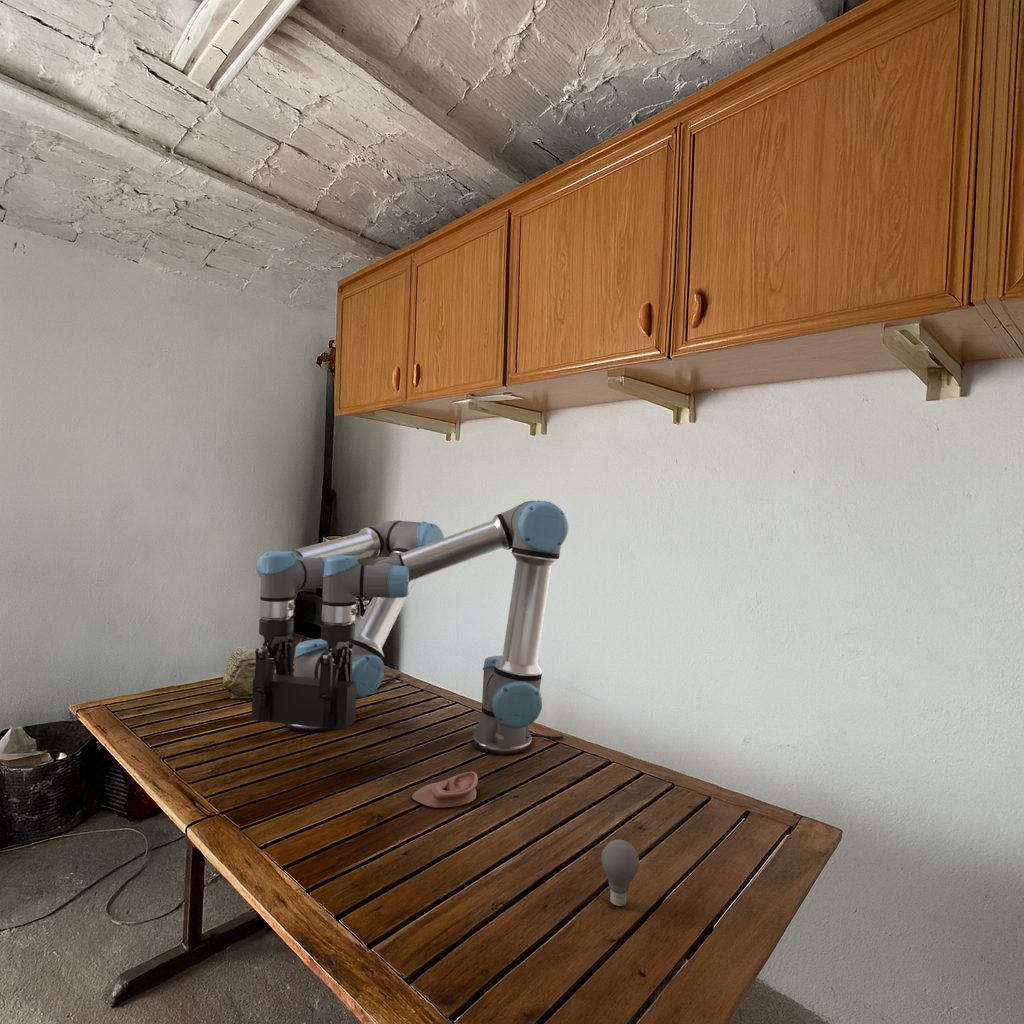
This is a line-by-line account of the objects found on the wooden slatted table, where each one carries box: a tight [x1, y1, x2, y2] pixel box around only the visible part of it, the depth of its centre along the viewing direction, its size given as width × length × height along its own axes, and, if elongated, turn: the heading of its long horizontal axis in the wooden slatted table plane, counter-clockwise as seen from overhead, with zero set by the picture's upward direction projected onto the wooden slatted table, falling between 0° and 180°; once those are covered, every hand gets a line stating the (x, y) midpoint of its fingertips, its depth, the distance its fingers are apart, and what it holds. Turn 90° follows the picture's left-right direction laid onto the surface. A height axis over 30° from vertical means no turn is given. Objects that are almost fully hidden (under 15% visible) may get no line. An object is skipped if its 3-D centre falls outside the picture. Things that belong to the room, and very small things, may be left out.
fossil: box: [222, 646, 276, 699], centre depth 198 cm, size 9×18×15 cm, turn 132°
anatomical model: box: [411, 771, 479, 809], centre depth 136 cm, size 13×4×12 cm
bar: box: [251, 674, 357, 731], centre depth 148 cm, size 23×5×10 cm, turn 81°
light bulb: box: [600, 839, 640, 907], centre depth 102 cm, size 6×6×10 cm
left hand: (272, 714), depth 149 cm, fingers open, 6 cm apart
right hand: (335, 721), depth 147 cm, fingers closed on bar, 5 cm apart
